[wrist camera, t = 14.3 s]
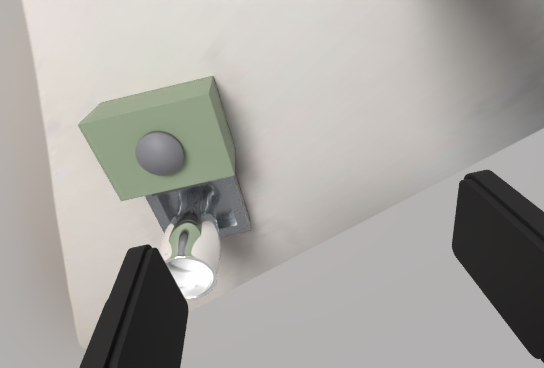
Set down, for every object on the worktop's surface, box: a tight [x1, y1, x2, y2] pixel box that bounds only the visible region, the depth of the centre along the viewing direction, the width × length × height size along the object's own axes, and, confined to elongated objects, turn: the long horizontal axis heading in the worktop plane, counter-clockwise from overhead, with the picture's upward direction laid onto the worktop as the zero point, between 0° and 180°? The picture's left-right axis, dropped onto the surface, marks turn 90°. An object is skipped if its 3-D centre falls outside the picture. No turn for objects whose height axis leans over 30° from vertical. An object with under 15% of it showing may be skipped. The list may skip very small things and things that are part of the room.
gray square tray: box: [145, 174, 250, 237], centre depth 47 cm, size 12×12×3 cm
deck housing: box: [78, 76, 235, 201], centre depth 39 cm, size 14×11×8 cm
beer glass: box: [159, 183, 221, 300], centre depth 41 cm, size 7×7×15 cm
